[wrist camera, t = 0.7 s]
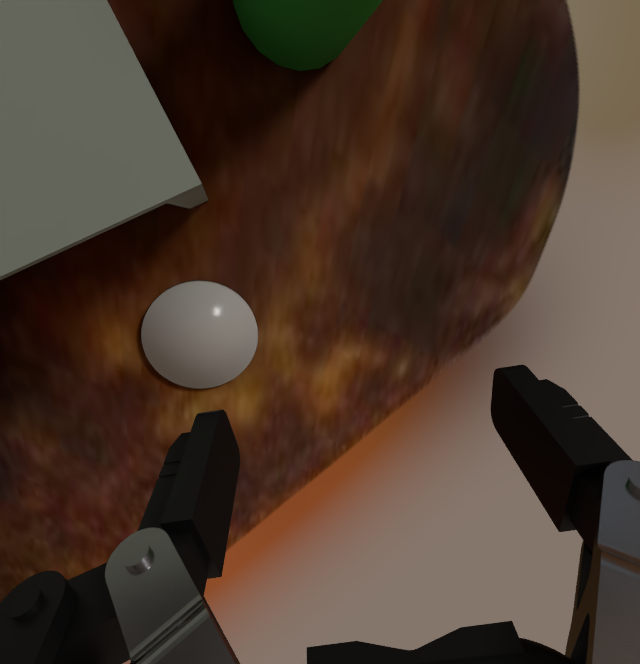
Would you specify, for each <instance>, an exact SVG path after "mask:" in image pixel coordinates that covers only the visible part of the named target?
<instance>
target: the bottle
mask: <svg viewBox="0 0 640 664" xmlns="http://www.w3.org/2000/svg"><path fill="white" fill-rule="evenodd" d="M382 1H383V0H233V5H234V8H235V10H236V13H237V16H238V18H239V21H240V24H241V26H242V29H243V31H244V32H245V34H246V35H247V36H248V38H249V39H250V40H251V42H252V43H253V44H254V46H255V47H256V48H257V50H258V51H259V52H260V53H262V54H263V55H264V56H266V57H267V58H269V59H270V60H272V61H273V62H274V63H276V64H277V65H279V66H282V67H286V68H290V69H294V70H297V71H304V70H311V69H318V68H321V67H323V66H324V65H326V64H327V63H329V62H331V61H332V60H334V59H335V58H337V57H338V56H339V55H340V53H341V52H342V51H343V50H344V48H345V47H346V46H347V45H348V43H349V42H350V41H351V40H352V38H353V37H354V36H355V35H356V33H357V32H358V31H359V30H360V28H361V27H362V26H363V25H364V23H365V22H366V21H367V20H368V18H369V17H370V16H371V15H372V13H373V12H374V11H375V10H376V8H377V7H378V6H379V4H380V3H381V2H382Z"/></svg>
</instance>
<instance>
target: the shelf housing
mask: <svg viewBox="0 0 640 664" xmlns="http://www.w3.org/2000/svg"><path fill="white" fill-rule="evenodd" d="M206 201H208V198H207V195H206V193H205V190H204V188H203V185H202V183H201V181H200V179H199V177H198V175H197V173H196V172H195V170H194V168H193V166H192V164H191V162H190V160H189V158H188V156H187V154H186V152H185V150H184V148H183V146H182V144H181V143H180V141H179V139H178V137H177V135H176V133H175V131H174V129H173V127H172V125H171V123H170V121H169V119H168V117H167V116H166V114H165V112H164V110H163V108H162V106H161V104H160V102H159V100H158V98H157V96H156V94H155V92H154V90H153V89H152V87H151V85H150V83H149V81H148V79H147V77H146V75H145V73H144V71H143V69H142V67H141V65H140V63H139V62H138V60H137V58H136V56H135V54H134V52H133V50H132V48H131V46H130V44H129V42H128V40H127V38H126V36H125V34H124V33H123V31H122V29H121V27H120V25H119V23H118V21H117V19H116V17H115V15H114V13H113V11H112V9H111V7H110V6H109V4H108V2H107V0H0V280H2V279H4V278H6V277H8V276H11V275H13V274H15V273H17V272H19V271H21V270H24V269H26V268H28V267H30V266H32V265H34V264H37V263H39V262H41V261H43V260H45V259H47V258H50V257H52V256H54V255H56V254H58V253H60V252H62V251H65V250H67V249H69V248H71V247H73V246H75V245H78V244H80V243H82V242H84V241H86V240H88V239H91V238H93V237H95V236H97V235H99V234H101V233H104V232H106V231H108V230H110V229H112V228H114V227H117V226H119V225H121V224H123V223H125V222H127V221H129V220H132V219H134V218H136V217H138V216H140V215H142V214H145V213H147V212H149V211H151V210H153V209H155V208H158V207H160V206H162V205H164V204H166V203H168V204H172V205H176V206H181V207H185V208H189V209H191V208H193V207H195V206H197V205H199V204H201V203H204V202H206Z"/></svg>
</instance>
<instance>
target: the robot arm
mask: <svg viewBox="0 0 640 664" xmlns="http://www.w3.org/2000/svg"><path fill="white" fill-rule="evenodd" d="M491 416H492V421H493V424H494V426H495V428H496V430H497V432H498V434H499V435H500V437H501V439H502V440H503V442H504V443H505V445H506V447H507V448H508V450H509V451H510V453H511V455H512V456H513V458H514V460H515V461H516V463H517V464H518V466H519V468H520V469H521V471H522V473H523V474H524V476H525V477H526V479H527V481H528V482H529V484H530V486H531V487H532V489H533V490H534V492H535V494H536V495H537V497H538V498H539V500H540V501H541V503H542V505H543V507H544V508H545V510H546V511H547V513H548V515H549V516H550V518H551V519H552V521H553V523H554V524H555V526H556V528H557V529H558V531H559V532H563V531H571V530H577V531H578V533H579V534H580V536H581V537H582V539H583V543H582V547H581V554H580V562H579V569H578V577H577V585H576V593H575V601H574V609H573V616H572V623H571V628H570V632H569V636H568V641H567V646H566V652H565V655H563V654H561V653H560V652H558V651H556V650H554V649H552V648H550V647H547V646H545V645H543V644H540V643H537V642H534V641H530V640H527V639H523V638H519V637H518V634H517V632H516V630H515V627H514V625H513V622H512V621H508V622H500V623H492V624H485V625H477V626H469V627H461V628H459V629H457V630H455V631H453V632H451V633H449V634H446V635H445V636H443V637H440V638H438V639H436V640H434V641H432V642H430V643H428V644H426V645H424V646H422V647H420V648H418V649H415V650H402V649H397V648H391V647H385V646H381V645H375V644H370V643H364V642H359V641H354V642H346V643H338V644H330V645H322V646H314V647H307V664H640V462H638V461H633V460H632V459H631V458H630V457H629V456H628V455H627V454H626V453H625V452H624V451H623V450H622V449H621V448H620V447H619V446H618V445H617V443H616V442H615V441H614V440H613V439H612V438H611V437H610V436H609V435H608V434H607V433H606V432H605V431H604V430H603V429H602V428H601V427H600V426H599V425H598V424H597V422H596V421H595V420H594V419H593V418H592V417H589V415H588V413H587V412H586V411H585V410H584V409H583V408H582V407H581V406H579V405H578V403H577V401H576V400H575V399H574V398H573V397H572V396H570V394H569V393H568V392H567V391H566V390H565V389H563V388H561V387H559V386H558V385H556V384H554V383H553V382H551V381H549V380H547V379H545V380H538V379H537V378H536V376H535V375H534V374H533V373H532V372H531V371H530V370H529V369H528V367H526V366H525V365H517V366H511V367H504V368H498V369H496V370H495V371H494V377H493V388H492V400H491ZM239 468H240V454H239V448H238V444H237V442H236V439H235V436H234V433H233V431H232V428H231V425H230V422H229V419H228V417H227V414H226V412H225V411H224V410H217V411H210V412H203V413H198V414H197V415H196V418H195V420H194V423H193V426H192V429H191V432H188V433H182V434H181V435H180V436H179V437H178V438H177V440H176V441H175V442H174V443H173V444H172V446H171V447H170V448H169V451H168V454H167V456H166V459H165V461H164V466H163V467H162V469H161V472H160V475H159V479H158V480H157V482H156V485H155V488H154V490H153V493H152V495H151V498H150V501H149V503H148V506H147V509H146V511H145V514H144V516H143V519H142V522H141V524H140V527H139V529H138V531H137V532H135V533H133V534H132V535H130V536H129V537H127V538H126V539H125V540H124V541H123V542H121V543H120V544H119V545H118V547H117V548H116V549H115V550H114V552H113V553H112V554H111V556H110V558H109V560H108V562H107V563H105V564H103V565H101V566H99V567H96V568H94V569H92V570H90V571H87V572H85V573H83V574H81V575H79V576H76V577H74V578H72V579H70V580H66V579H65V578H64V577H63V576H62V575H61V574H60V573H59V572H56V571H44V572H41V573H38V574H35V575H33V576H31V577H29V578H28V579H26V580H25V581H23V582H22V583H20V584H19V585H18V586H16V587H15V588H14V589H13V590H12V591H11V592H10V593H9V594H8V595H7V596H6V597H5V598H4V599H3V601H2V602H1V603H0V664H122V663H124V662H126V661H128V660H130V659H131V663H130V664H240V663H239V661H238V659H237V657H236V655H235V653H234V652H233V650H232V648H231V646H230V644H229V642H228V640H227V638H226V637H225V635H224V633H223V631H222V629H221V627H220V625H219V624H218V622H217V620H216V618H215V616H214V614H213V612H212V611H211V609H210V607H209V605H208V603H207V601H206V600H205V598H204V591H205V585H206V581H207V579H209V578H216V577H221V576H222V570H223V564H224V558H225V552H226V546H227V540H228V534H229V528H230V522H231V516H232V510H233V504H234V498H235V492H236V486H237V480H238V474H239Z"/></svg>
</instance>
